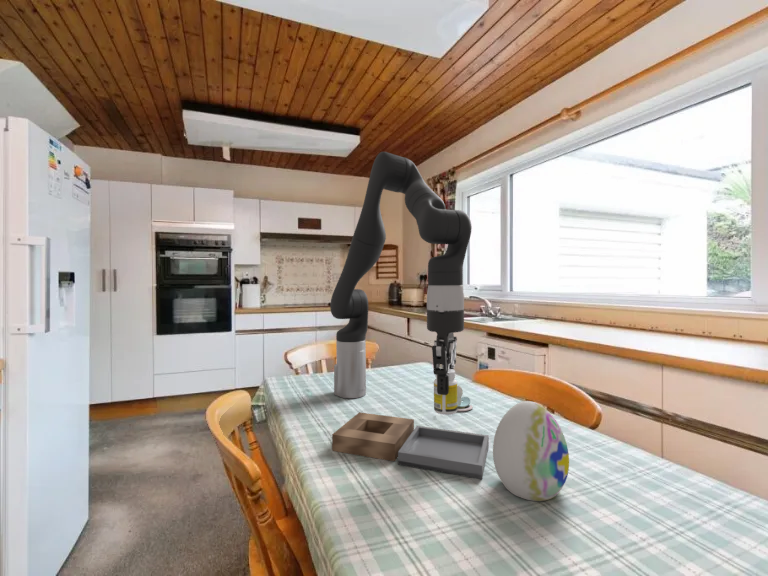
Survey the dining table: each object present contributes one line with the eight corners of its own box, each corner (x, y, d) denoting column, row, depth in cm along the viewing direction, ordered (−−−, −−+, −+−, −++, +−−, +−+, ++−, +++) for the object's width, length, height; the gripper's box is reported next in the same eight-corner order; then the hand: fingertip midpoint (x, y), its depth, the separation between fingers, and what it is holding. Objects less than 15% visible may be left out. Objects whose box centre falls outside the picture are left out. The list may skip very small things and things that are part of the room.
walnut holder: (332, 450, 79) (332, 434, 79) (359, 426, 92) (359, 412, 92) (394, 461, 74) (394, 444, 74) (413, 434, 88) (413, 419, 88)
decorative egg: (553, 519, 56) (554, 420, 56) (480, 489, 65) (480, 402, 64) (578, 486, 65) (579, 401, 65) (511, 463, 74) (511, 387, 73)
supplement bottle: (458, 408, 78) (458, 368, 78) (455, 416, 74) (455, 374, 74) (436, 406, 80) (436, 367, 80) (431, 413, 75) (431, 372, 75)
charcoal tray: (398, 464, 73) (398, 452, 73) (416, 436, 86) (416, 425, 86) (482, 479, 68) (482, 465, 68) (488, 446, 81) (488, 435, 81)
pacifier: (477, 410, 105) (462, 403, 110) (478, 388, 104) (463, 382, 109) (458, 415, 101) (443, 407, 106) (459, 392, 100) (444, 386, 105)
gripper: (434, 305, 84) (435, 380, 85) (418, 309, 71) (418, 399, 71) (468, 305, 82) (468, 383, 82) (458, 310, 68) (458, 403, 69)
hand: (445, 390), depth 77 cm, fingers closed on supplement bottle, 4 cm apart
